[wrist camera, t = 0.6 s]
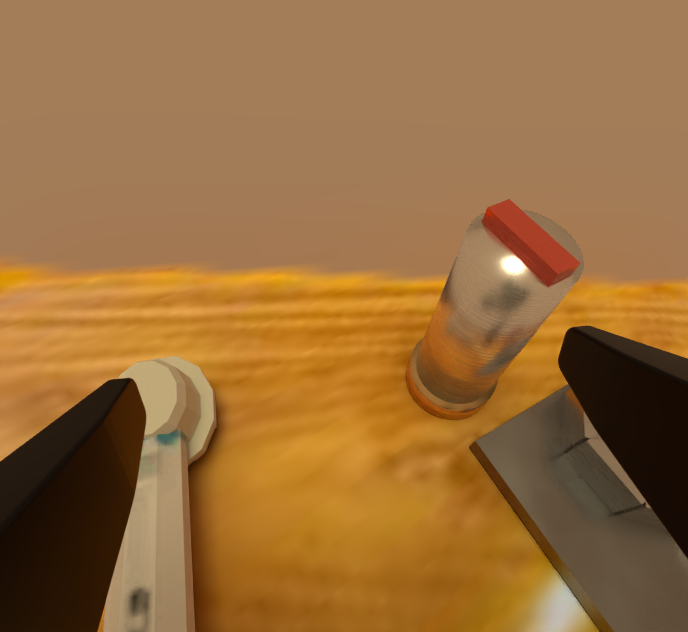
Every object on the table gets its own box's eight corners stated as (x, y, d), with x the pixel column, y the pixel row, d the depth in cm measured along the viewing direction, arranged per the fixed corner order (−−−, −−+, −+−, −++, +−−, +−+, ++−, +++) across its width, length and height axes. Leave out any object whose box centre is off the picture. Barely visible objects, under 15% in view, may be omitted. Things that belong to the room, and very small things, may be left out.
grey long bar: (-19, 1352, 9) (80, 335, 20) (108, 1029, 15) (132, 378, 26) (222, 1247, 10) (193, 321, 21) (254, 977, 16) (219, 366, 27)
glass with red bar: (504, 396, 27) (632, 256, 16) (438, 435, 25) (529, 309, 14) (454, 333, 30) (533, 176, 19) (390, 364, 28) (437, 212, 17)
